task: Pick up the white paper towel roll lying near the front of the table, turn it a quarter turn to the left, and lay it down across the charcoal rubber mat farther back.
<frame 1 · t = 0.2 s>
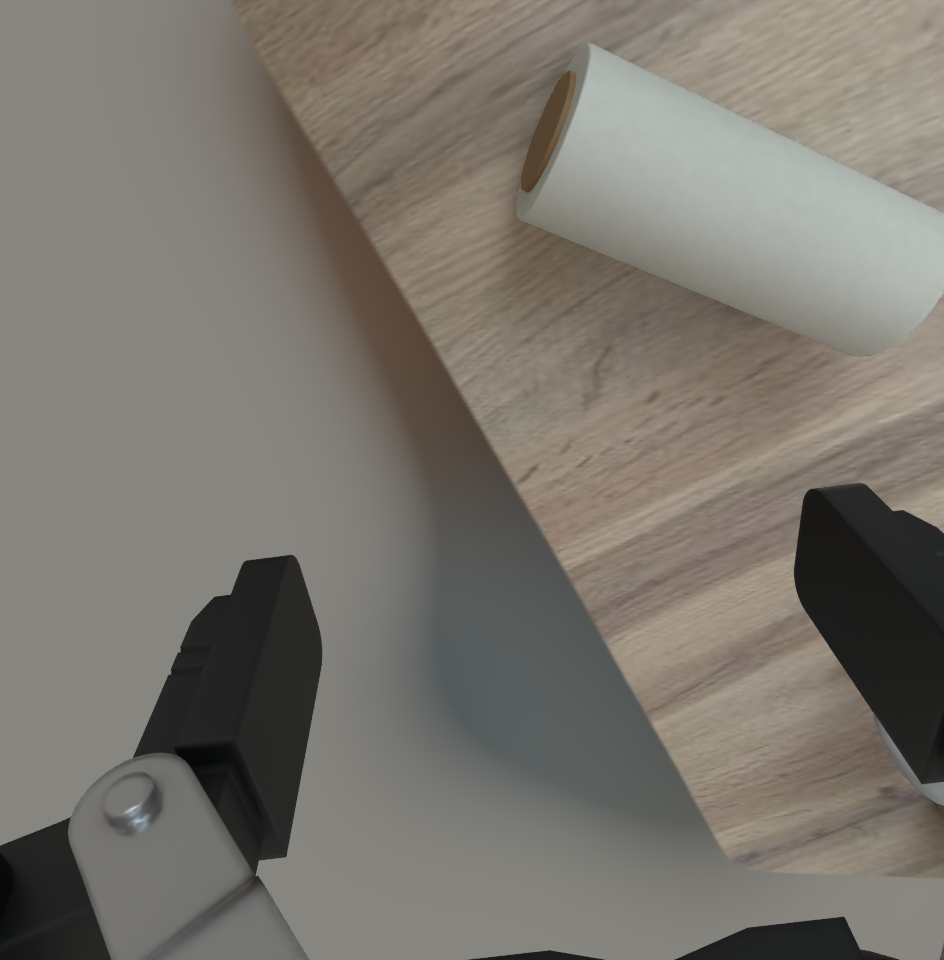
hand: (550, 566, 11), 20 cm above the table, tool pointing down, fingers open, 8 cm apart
towel roll: (538, 127, 26), on the table
mug: (931, 612, 39), on the table
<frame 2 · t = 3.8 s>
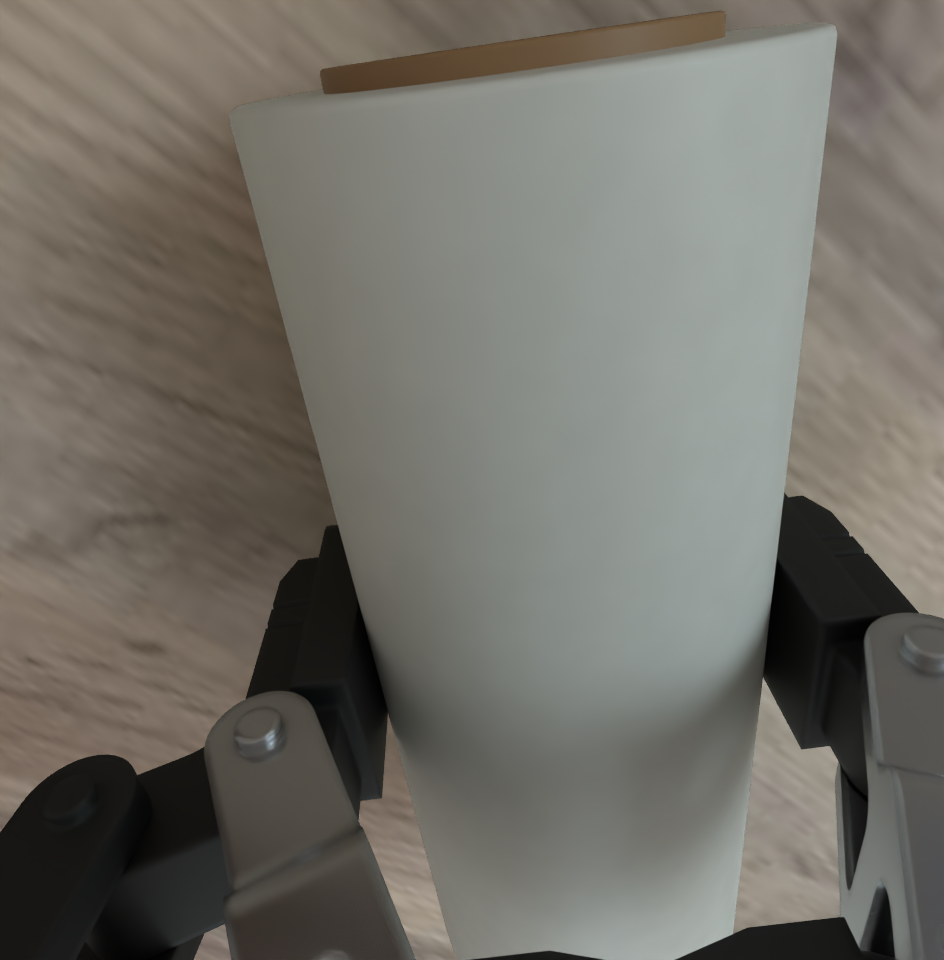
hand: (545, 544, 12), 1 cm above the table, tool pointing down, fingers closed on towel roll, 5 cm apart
towel roll: (496, 62, 9), on the table, touching gripper
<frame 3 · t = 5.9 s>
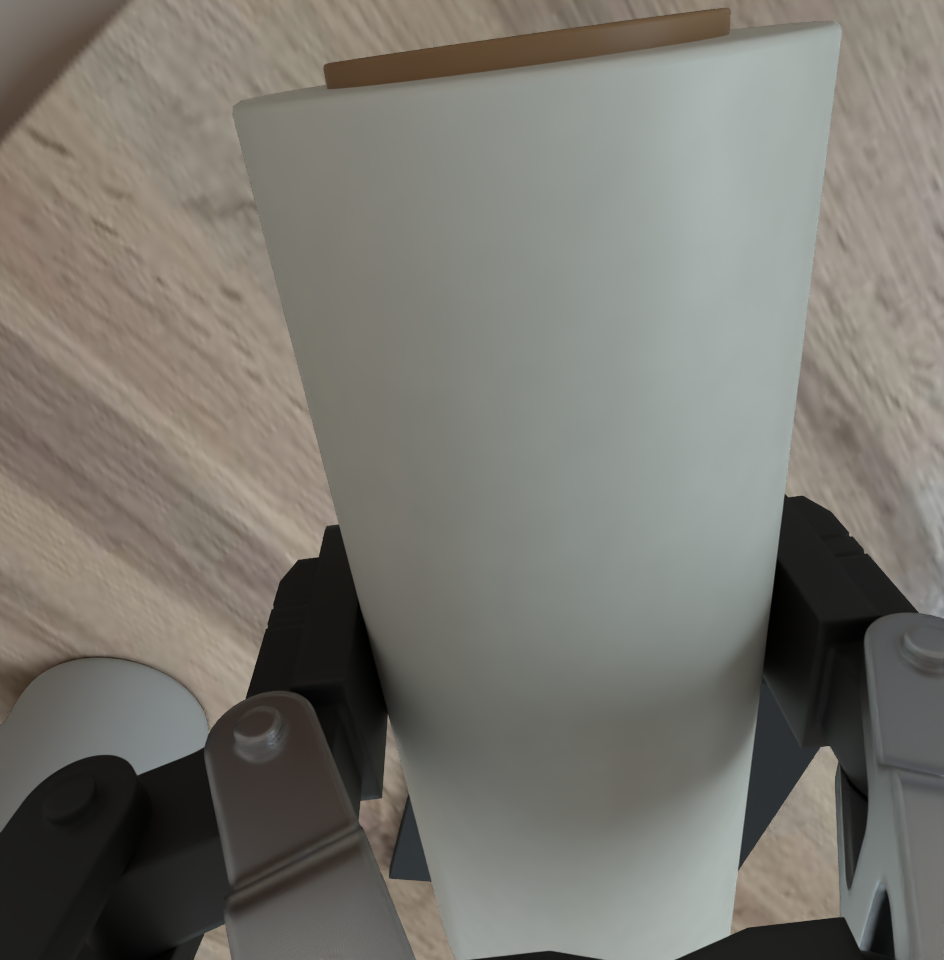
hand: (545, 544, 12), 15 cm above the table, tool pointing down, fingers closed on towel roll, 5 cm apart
towel roll: (499, 59, 9), point 13 cm above the table, touching gripper
mug: (84, 702, 34), on the table
mat: (601, 784, 38), on the table
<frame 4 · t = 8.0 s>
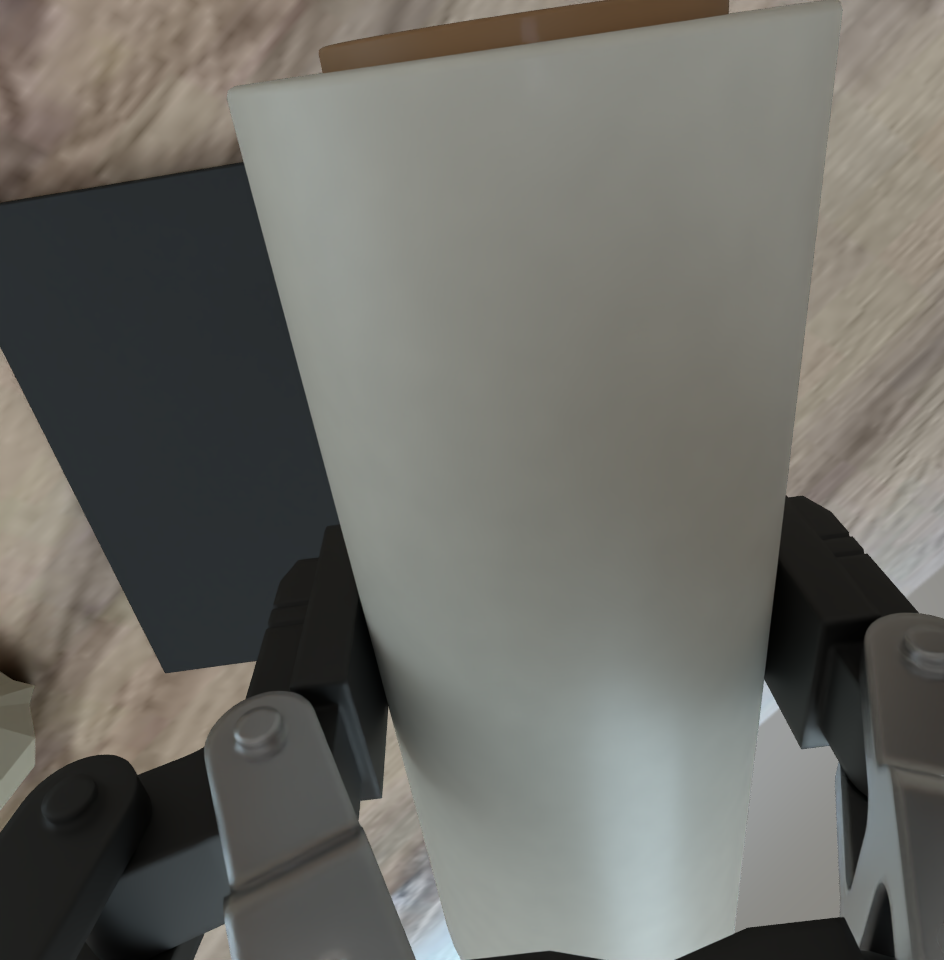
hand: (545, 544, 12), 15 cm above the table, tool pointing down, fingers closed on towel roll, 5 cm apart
towel roll: (497, 47, 9), point 14 cm above the table, touching gripper
mat: (302, 445, 28), on the table
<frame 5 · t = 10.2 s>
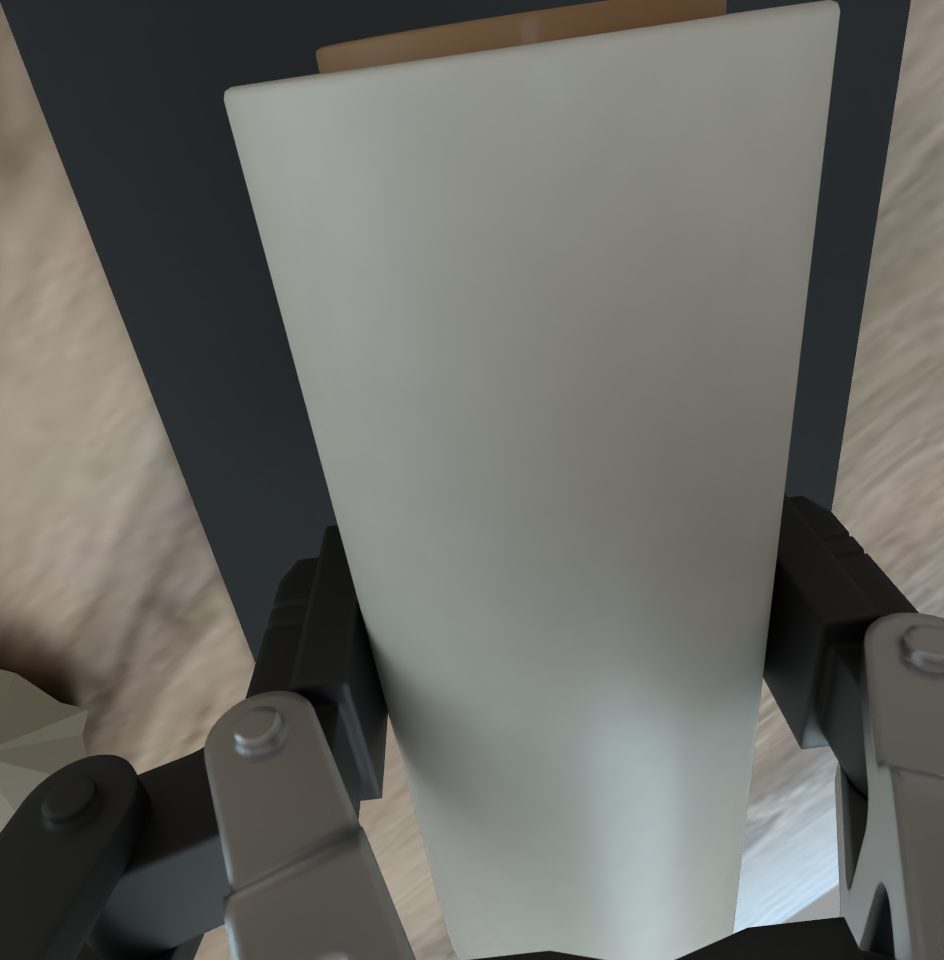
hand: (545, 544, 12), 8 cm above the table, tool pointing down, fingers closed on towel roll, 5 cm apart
towel roll: (495, 47, 9), point 7 cm above the table, touching gripper
mat: (505, 369, 19), on the table
when the fingers open (2 cm above the table, at t = 12.2 s): towel roll stays where it is, resting on mat.
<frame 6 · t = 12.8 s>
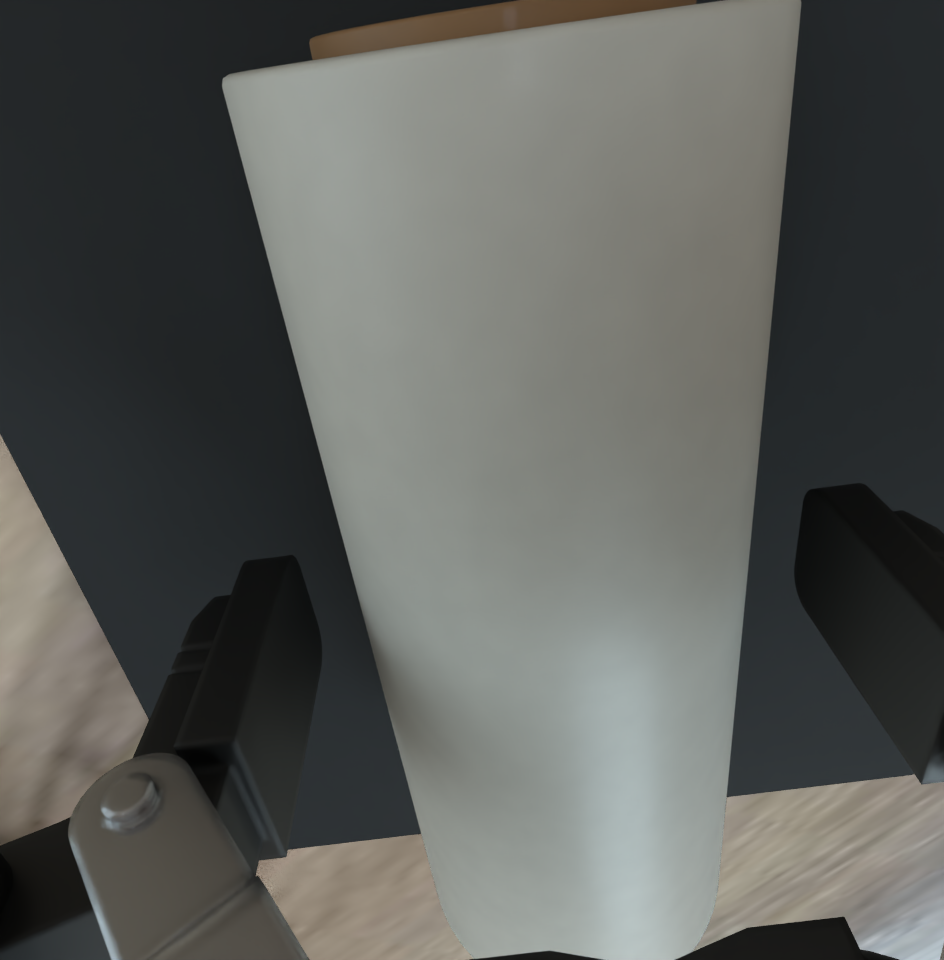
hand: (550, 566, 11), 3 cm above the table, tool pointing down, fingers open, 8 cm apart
towel roll: (491, 38, 10), point 1 cm above the table, touching mat
mat: (528, 474, 14), on the table
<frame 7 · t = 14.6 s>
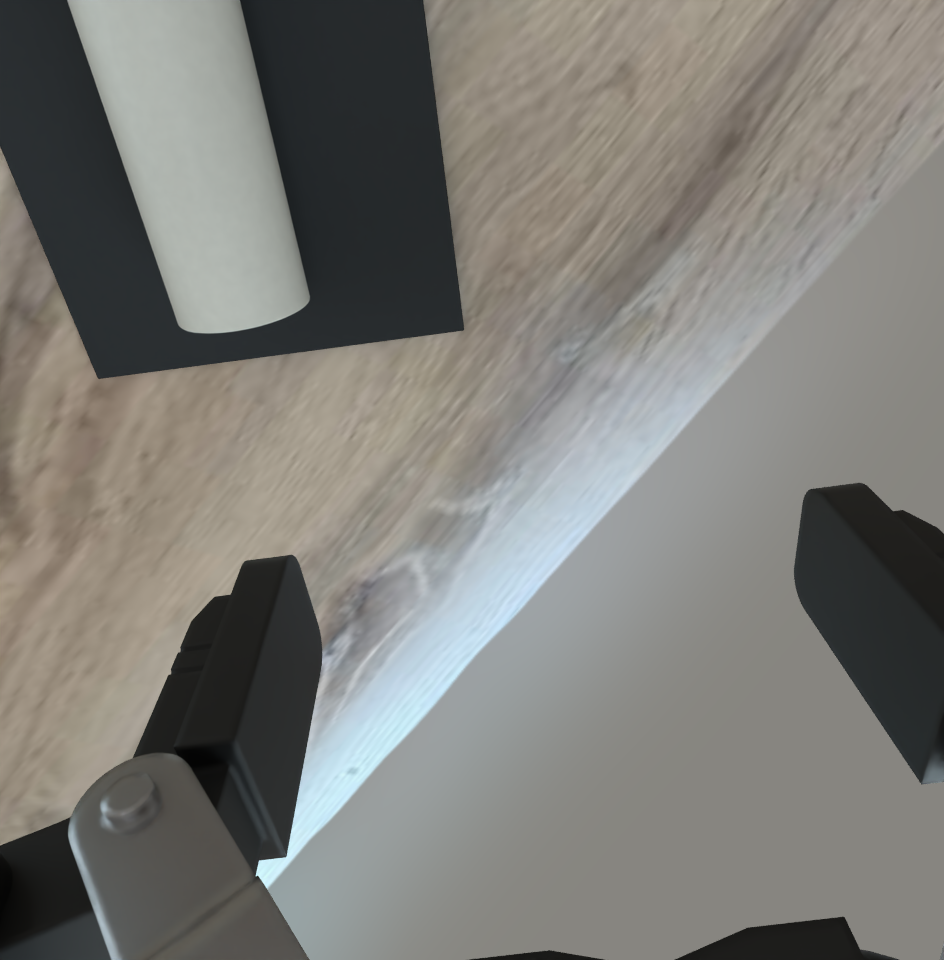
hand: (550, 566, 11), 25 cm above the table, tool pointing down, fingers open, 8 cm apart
mat: (223, 127, 30), on the table
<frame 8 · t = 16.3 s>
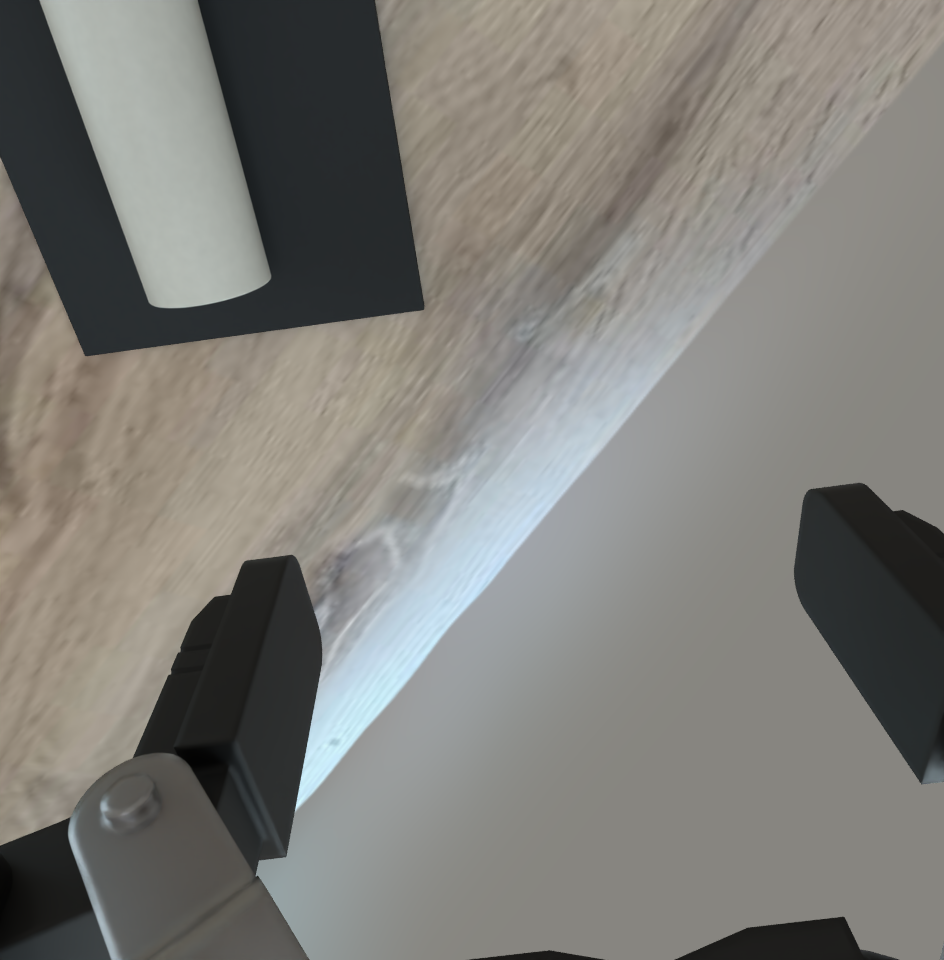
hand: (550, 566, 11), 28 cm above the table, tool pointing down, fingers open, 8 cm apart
mat: (195, 120, 33), on the table
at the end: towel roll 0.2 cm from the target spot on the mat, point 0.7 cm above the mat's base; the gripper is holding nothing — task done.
